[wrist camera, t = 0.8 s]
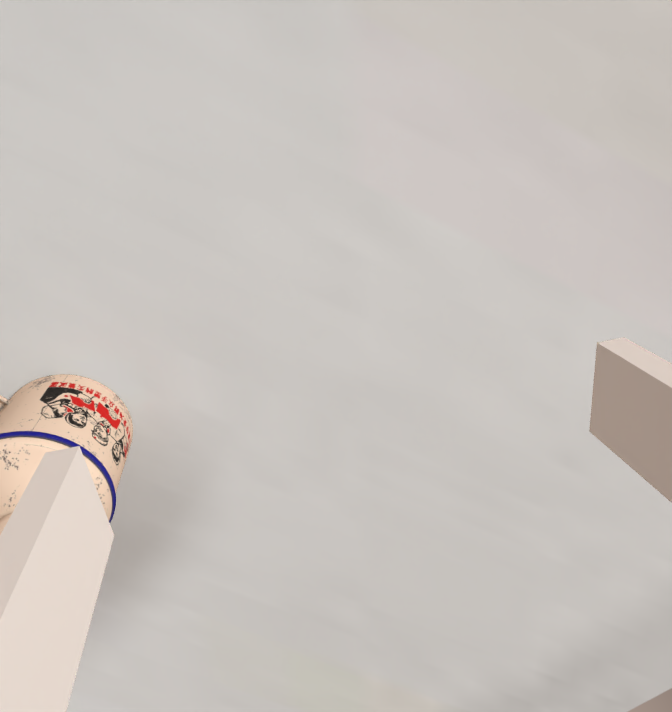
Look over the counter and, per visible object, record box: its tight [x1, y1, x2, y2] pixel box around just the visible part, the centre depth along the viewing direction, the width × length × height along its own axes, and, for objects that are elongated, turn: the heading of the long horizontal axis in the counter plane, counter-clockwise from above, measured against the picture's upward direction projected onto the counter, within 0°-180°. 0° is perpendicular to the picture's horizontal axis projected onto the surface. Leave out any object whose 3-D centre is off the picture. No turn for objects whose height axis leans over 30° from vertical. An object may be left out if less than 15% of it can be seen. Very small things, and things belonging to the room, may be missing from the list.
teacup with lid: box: [0, 374, 133, 535], centre depth 33 cm, size 12×9×12 cm
